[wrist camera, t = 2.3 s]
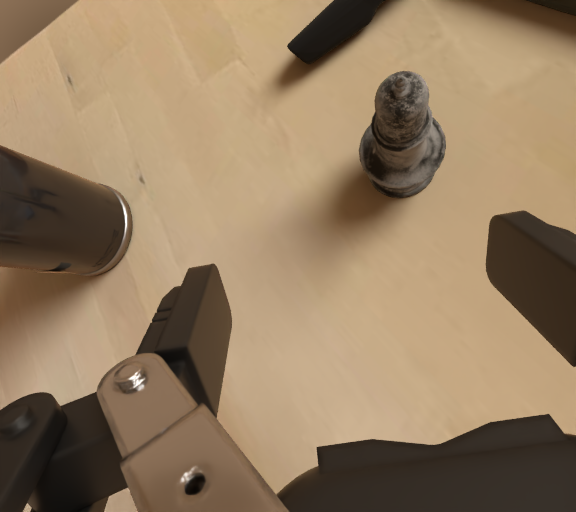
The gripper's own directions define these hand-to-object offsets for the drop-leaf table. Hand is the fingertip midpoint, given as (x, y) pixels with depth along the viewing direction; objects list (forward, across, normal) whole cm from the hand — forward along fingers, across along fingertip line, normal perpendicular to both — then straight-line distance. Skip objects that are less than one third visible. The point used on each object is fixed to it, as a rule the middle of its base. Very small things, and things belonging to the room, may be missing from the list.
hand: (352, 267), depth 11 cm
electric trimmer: (+29, -8, -8) cm, 31 cm away
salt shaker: (+20, -7, +3) cm, 21 cm away
